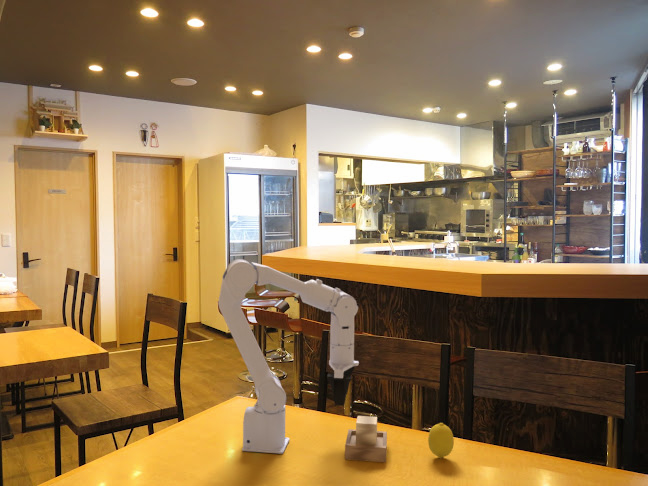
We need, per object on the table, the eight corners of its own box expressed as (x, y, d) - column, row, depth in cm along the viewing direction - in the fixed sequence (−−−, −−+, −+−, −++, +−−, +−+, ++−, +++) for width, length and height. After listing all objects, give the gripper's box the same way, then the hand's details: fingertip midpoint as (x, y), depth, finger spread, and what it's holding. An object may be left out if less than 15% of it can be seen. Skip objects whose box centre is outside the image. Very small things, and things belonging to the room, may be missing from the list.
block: (355, 445, 117) (356, 423, 117) (357, 436, 122) (357, 415, 121) (375, 446, 117) (376, 424, 116) (376, 438, 121) (377, 417, 121)
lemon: (453, 465, 113) (454, 428, 113) (427, 462, 114) (428, 426, 114) (452, 454, 119) (453, 419, 118) (427, 451, 120) (428, 417, 120)
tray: (344, 459, 115) (345, 445, 115) (348, 442, 124) (348, 429, 124) (386, 462, 114) (386, 447, 114) (386, 445, 123) (386, 431, 123)
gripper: (356, 351, 117) (355, 411, 117) (360, 337, 131) (359, 390, 132) (325, 349, 118) (324, 409, 118) (332, 336, 132) (332, 389, 133)
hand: (341, 399), depth 125 cm, fingers open, 7 cm apart
